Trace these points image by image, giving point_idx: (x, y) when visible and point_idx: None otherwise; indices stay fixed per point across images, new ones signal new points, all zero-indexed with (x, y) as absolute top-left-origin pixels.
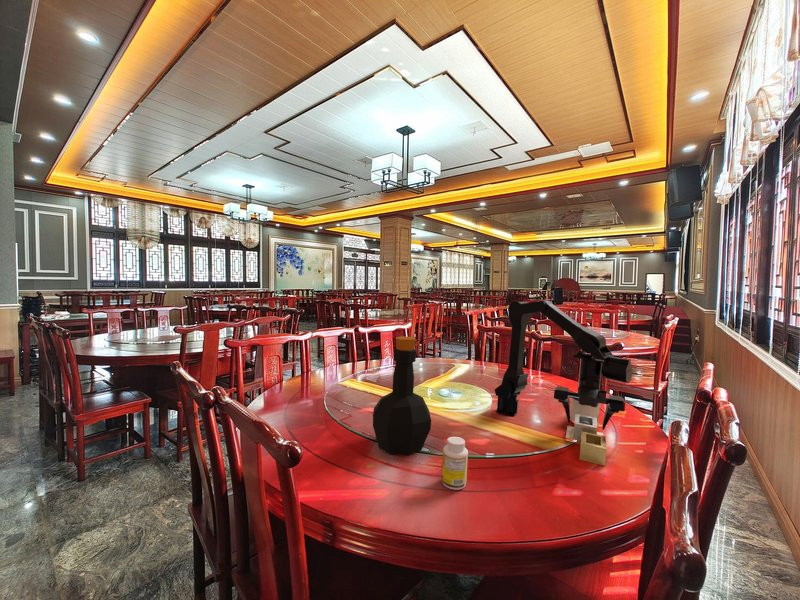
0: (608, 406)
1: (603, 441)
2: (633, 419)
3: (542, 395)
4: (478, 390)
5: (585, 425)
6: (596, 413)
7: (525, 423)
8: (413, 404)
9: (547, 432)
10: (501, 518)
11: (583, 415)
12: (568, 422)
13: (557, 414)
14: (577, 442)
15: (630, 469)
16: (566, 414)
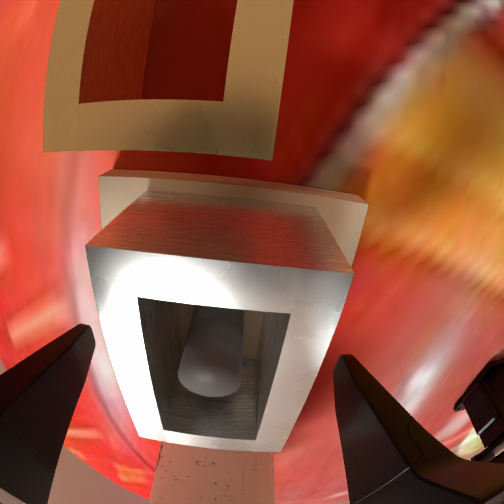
0: (2, 489)
1: (75, 2)
2: (93, 455)
3: (319, 497)
4: (473, 443)
5: (217, 263)
6: (162, 470)
7: (480, 328)
8: None
9: (429, 279)
10: None
11: (225, 448)
12: (348, 354)
13: (311, 452)
14: (280, 185)
15: (34, 3)
16: (395, 400)
